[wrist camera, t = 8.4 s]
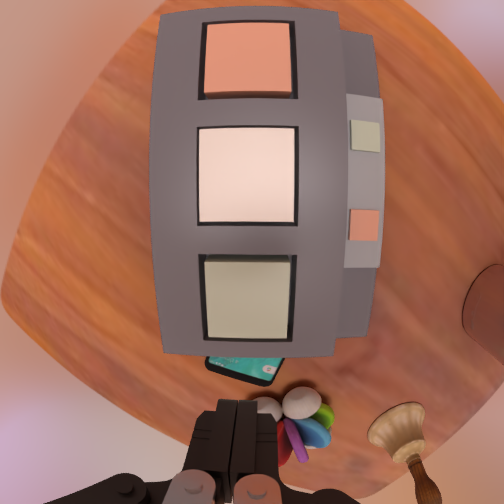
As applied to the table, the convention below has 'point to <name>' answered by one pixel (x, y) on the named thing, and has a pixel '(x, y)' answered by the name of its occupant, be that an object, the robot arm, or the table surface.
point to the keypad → (305, 182)
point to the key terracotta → (248, 61)
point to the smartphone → (246, 368)
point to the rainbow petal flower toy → (299, 422)
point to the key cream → (246, 174)
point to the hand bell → (406, 445)
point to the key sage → (247, 295)
